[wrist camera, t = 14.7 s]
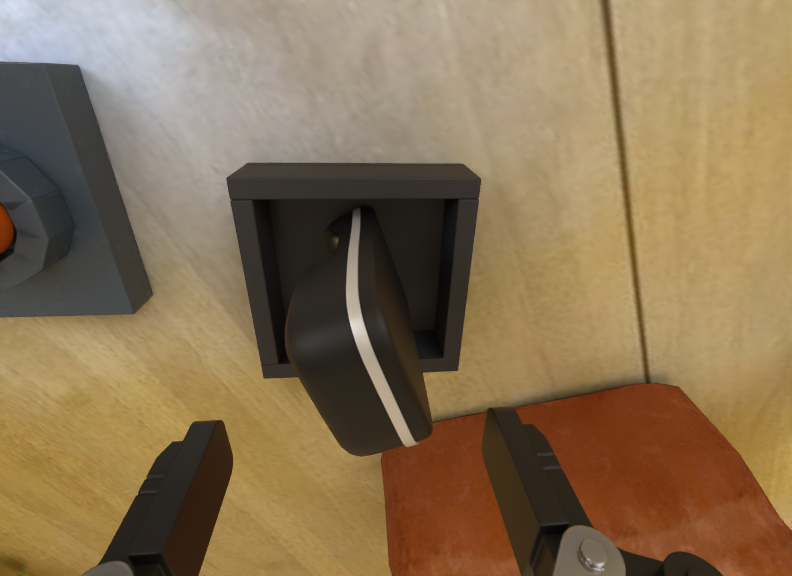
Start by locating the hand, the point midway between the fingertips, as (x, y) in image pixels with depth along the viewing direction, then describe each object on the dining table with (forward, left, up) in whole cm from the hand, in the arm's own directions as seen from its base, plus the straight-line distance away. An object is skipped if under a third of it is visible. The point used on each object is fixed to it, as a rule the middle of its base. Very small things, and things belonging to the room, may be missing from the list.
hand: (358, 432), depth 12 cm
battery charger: (0, 0, -13) cm, 13 cm away
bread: (+20, +14, -13) cm, 28 cm away
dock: (0, 0, -13) cm, 13 cm away
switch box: (-4, -17, -13) cm, 22 cm away
